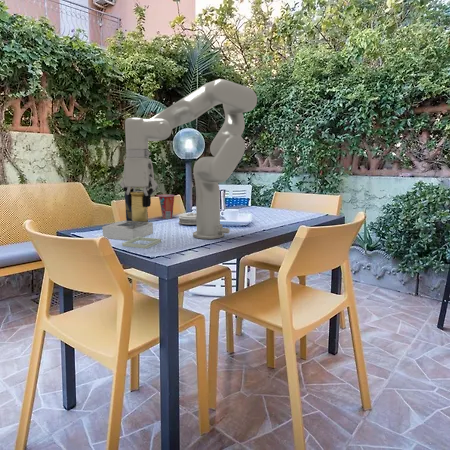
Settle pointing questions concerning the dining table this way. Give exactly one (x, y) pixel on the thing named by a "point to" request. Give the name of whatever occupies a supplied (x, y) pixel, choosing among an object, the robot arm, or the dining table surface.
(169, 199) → the cup
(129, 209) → the canister
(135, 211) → the gold metal cylinder
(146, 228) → the housing
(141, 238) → the green square frame
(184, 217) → the lid
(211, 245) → the dining table surface
